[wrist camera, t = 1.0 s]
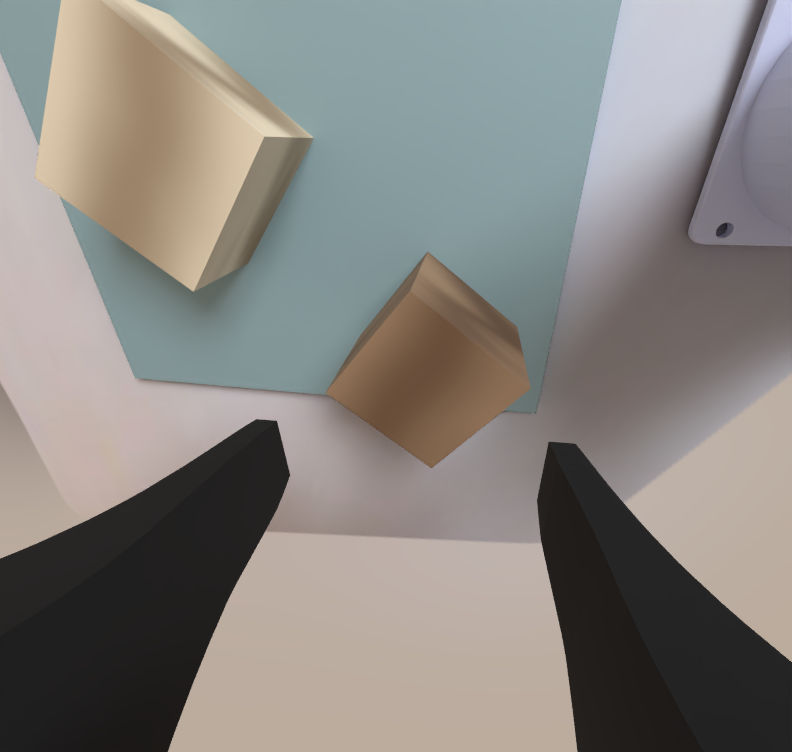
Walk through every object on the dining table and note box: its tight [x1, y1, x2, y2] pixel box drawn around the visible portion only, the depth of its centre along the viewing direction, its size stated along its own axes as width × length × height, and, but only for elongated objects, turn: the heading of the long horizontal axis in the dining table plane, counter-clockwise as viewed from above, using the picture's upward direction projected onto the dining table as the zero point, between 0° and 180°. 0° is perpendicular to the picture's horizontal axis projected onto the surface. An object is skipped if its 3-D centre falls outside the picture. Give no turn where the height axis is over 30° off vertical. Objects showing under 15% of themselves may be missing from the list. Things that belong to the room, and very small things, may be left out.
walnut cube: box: [326, 252, 531, 468], centre depth 15 cm, size 5×5×5 cm
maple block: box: [35, 0, 314, 292], centre depth 14 cm, size 6×6×4 cm
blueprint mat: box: [0, 0, 622, 414], centre depth 16 cm, size 22×18×1 cm
